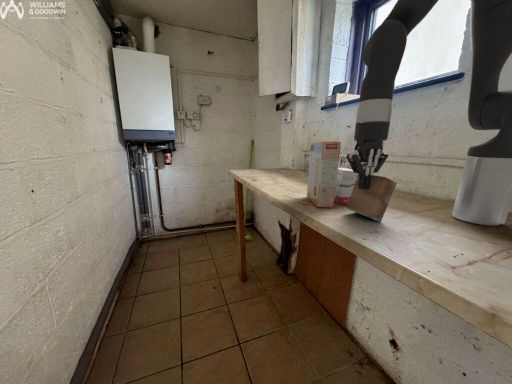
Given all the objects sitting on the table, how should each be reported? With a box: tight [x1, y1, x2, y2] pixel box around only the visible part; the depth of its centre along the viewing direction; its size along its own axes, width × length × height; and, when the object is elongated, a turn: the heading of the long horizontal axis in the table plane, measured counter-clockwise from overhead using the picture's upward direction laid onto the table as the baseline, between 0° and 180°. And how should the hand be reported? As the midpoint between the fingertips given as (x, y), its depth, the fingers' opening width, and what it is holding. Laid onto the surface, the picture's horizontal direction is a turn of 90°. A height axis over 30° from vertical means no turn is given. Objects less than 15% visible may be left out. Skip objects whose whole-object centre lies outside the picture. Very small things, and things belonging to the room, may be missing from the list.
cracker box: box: [306, 140, 342, 209], centre depth 70 cm, size 14×6×21 cm, turn 179°
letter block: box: [345, 174, 398, 222], centre depth 56 cm, size 5×8×11 cm, turn 23°
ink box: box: [334, 167, 357, 206], centre depth 72 cm, size 9×5×12 cm, turn 179°
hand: (363, 189), depth 55 cm, fingers closed
